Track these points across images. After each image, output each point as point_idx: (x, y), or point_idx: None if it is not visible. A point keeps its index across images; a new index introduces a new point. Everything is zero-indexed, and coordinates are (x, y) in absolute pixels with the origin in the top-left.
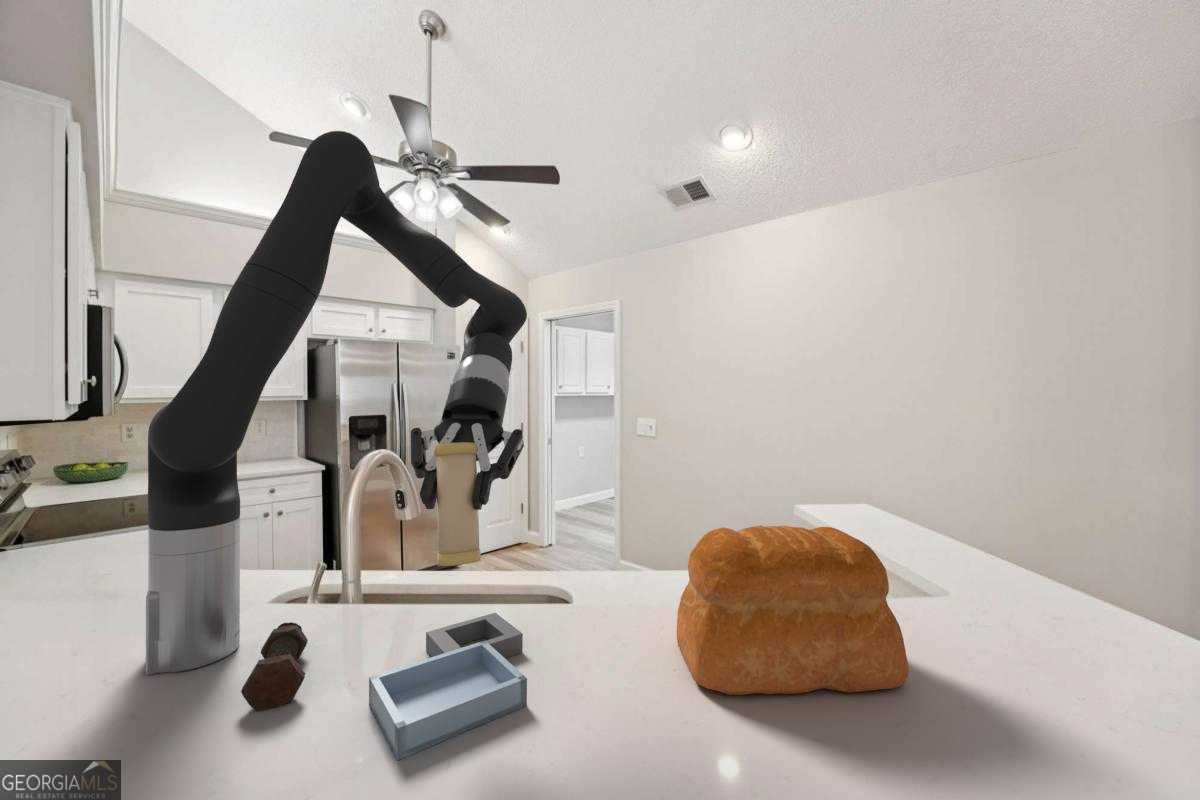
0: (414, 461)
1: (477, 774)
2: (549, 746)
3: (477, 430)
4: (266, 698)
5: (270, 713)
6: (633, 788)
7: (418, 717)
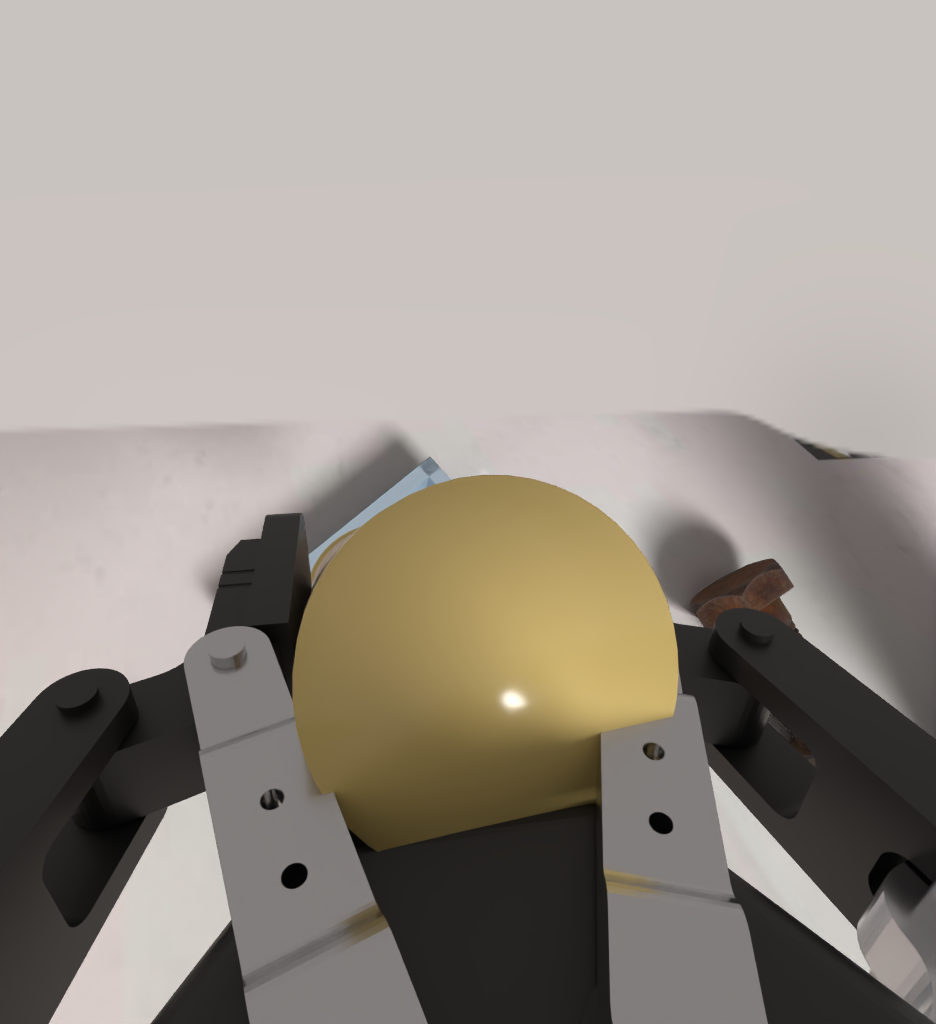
0: (766, 622)
1: (288, 452)
2: (174, 518)
3: (327, 991)
4: (727, 578)
5: (702, 572)
6: (26, 433)
7: (406, 484)
